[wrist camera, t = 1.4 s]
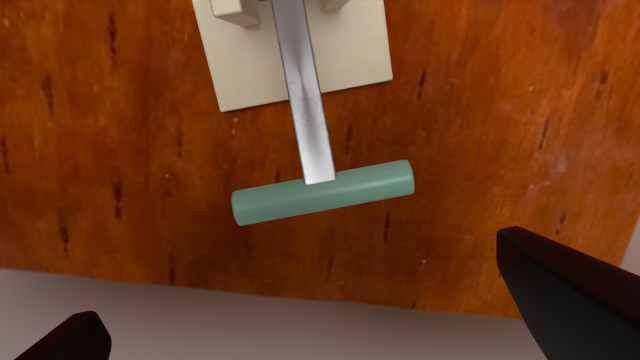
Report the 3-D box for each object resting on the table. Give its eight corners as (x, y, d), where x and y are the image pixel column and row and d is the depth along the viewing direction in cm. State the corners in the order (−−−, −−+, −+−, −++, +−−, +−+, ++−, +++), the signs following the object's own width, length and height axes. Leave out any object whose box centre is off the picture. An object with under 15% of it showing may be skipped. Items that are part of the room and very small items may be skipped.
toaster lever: (407, 194, 15) (421, 192, 13) (246, 224, 15) (230, 227, 13) (350, -87, 16) (354, -140, 13) (198, -57, 16) (174, -105, 13)
